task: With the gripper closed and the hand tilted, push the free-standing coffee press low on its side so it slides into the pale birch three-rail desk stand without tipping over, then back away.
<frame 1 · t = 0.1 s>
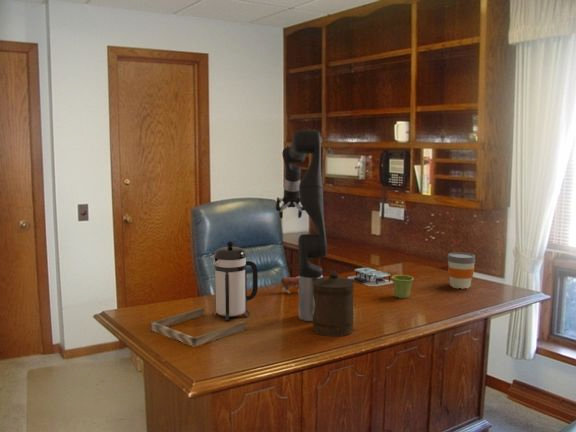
hand: (290, 217, 277), 31 cm above the table, tool tilted 20°, fingers open, 8 cm apart
wooden container: (332, 330, 213), on the table
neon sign: (358, 283, 281), on the table
bull figurine: (295, 293, 262), on the table
coffee press: (233, 315, 230), on the table
birch stand: (199, 329, 213), on the table
reusable coffee cup: (460, 286, 273), on the table
plant pot: (402, 297, 256), on the table
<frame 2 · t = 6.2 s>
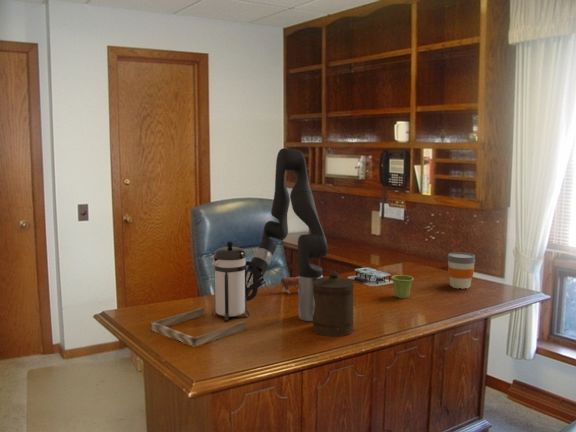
hand: (243, 296, 235), 6 cm above the table, tool tilted 45°, fingers closed
coffee press: (233, 315, 230), on the table, touching gripper
everything else where it was.
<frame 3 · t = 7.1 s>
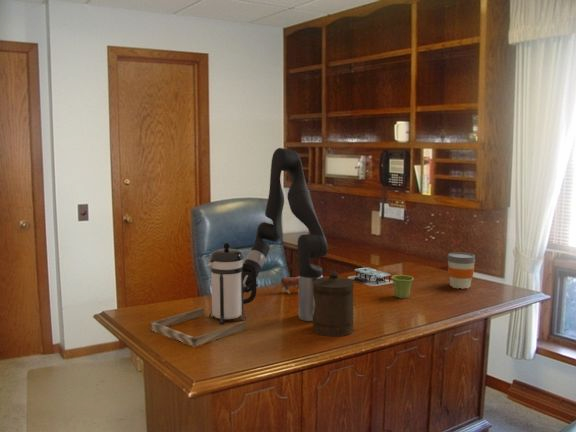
hand: (235, 299, 231), 6 cm above the table, tool tilted 45°, fingers closed
coffee press: (230, 318, 226), on the table, touching gripper
everything else where it was.
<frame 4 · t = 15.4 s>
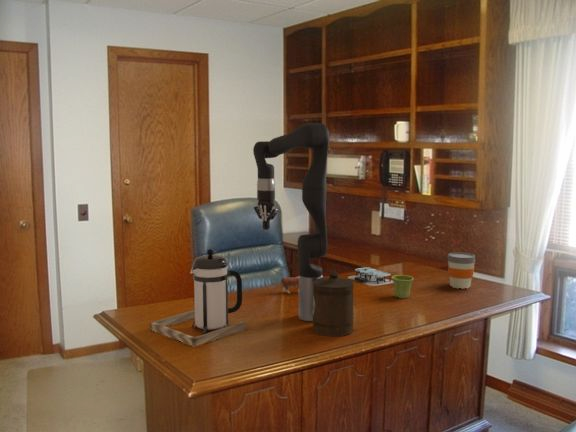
hand: (266, 229, 246), 31 cm above the table, tool pointing down, fingers closed
coffee press: (214, 328, 215), on the table
everything else where it was.
at the end: coffee press inside the target area (6.4 cm from its centre), on the table; coffee press tilted 0°; coffee press moved 16.3 cm from its start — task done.
